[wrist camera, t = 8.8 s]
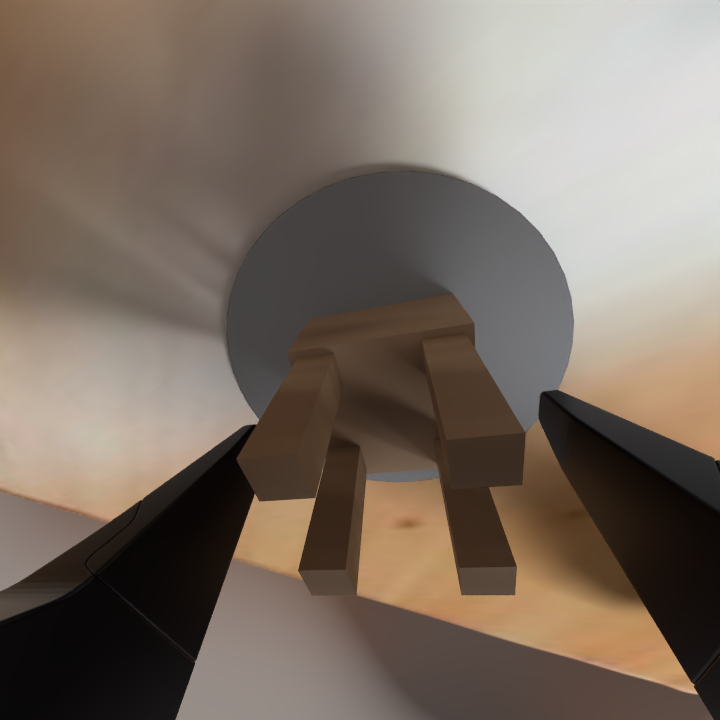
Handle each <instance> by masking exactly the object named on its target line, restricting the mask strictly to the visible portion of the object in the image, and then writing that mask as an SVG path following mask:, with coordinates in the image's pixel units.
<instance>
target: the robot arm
mask: <svg viewBox="0 0 720 720" xmlns="http://www.w3.org/2000/svg"><path fill="white" fill-rule="evenodd" d="M538 417H539V421H540V423H541V425H542V428H543V430H544V432H545V434H546V436H547V438H548V441H549V443H550V445H551V447H552V449H553V451H554V454H555V456H556V458H557V460H558V462H559V464H560V466H561V468H562V470H563V472H564V474H565V475H566V477H567V479H568V480H569V482H570V484H571V485H572V487H573V489H574V490H575V492H576V493H577V495H578V497H579V498H580V500H581V502H582V503H583V505H584V507H585V508H586V510H587V512H588V513H589V515H590V516H591V518H592V520H593V521H594V523H595V525H596V526H597V528H598V530H599V531H600V533H601V535H602V536H603V538H604V539H605V541H606V543H607V544H608V546H609V548H610V549H611V551H612V553H613V554H614V556H615V558H616V559H617V561H618V562H619V564H620V566H621V567H622V569H623V571H624V572H625V574H626V576H627V577H628V579H629V581H630V582H631V584H632V585H633V587H634V589H635V590H636V592H637V594H638V595H639V597H640V599H641V600H642V602H643V604H644V605H645V607H646V608H647V610H648V612H649V613H650V615H651V617H652V618H653V620H654V622H655V623H656V625H657V627H658V628H659V630H660V631H661V633H662V635H663V636H664V638H665V640H666V641H667V643H668V645H669V646H670V648H671V650H672V651H673V653H674V654H675V656H676V658H677V659H678V661H679V663H680V664H681V666H682V668H683V669H684V671H685V673H686V674H687V676H688V677H689V679H690V681H691V682H692V683H693V684H695V685H694V688H695V689H696V691H697V693H698V694H699V696H700V698H701V699H702V701H703V703H704V704H705V706H706V708H707V709H708V711H709V712H710V714H711V716H712V717H713V719H714V720H720V460H716V461H715V459H714V458H713V457H710V456H708V455H706V454H703V453H701V452H699V451H697V450H694V449H692V448H690V447H687V446H685V445H683V444H681V443H678V442H676V441H674V440H671V439H669V438H667V437H664V436H662V435H660V434H658V433H655V432H653V431H651V430H648V429H646V428H644V427H642V426H639V425H637V424H635V423H632V422H630V421H628V420H626V419H623V418H621V417H619V416H616V415H614V414H612V413H609V412H607V411H605V410H603V409H600V408H598V407H596V406H593V405H591V404H589V403H587V402H584V401H582V400H580V399H577V398H575V397H573V396H571V395H568V394H566V393H564V392H561V391H559V390H550V391H543V392H542V393H541V394H540V399H539V411H538ZM255 427H256V425H255V424H254V425H246V426H243V427H242V428H240V429H239V430H238V431H236V432H235V433H234V434H232V435H231V436H229V437H228V438H227V439H225V440H224V441H222V442H221V443H220V444H218V445H217V446H215V447H214V448H213V449H211V450H210V451H208V452H207V453H206V454H204V455H203V456H202V457H200V458H199V459H197V460H196V461H195V462H193V463H192V464H190V465H189V466H188V467H186V468H185V469H183V470H182V471H181V472H179V473H178V474H176V475H175V476H174V477H172V478H171V479H170V480H168V481H167V482H165V483H164V484H163V485H161V486H160V487H158V488H157V489H156V490H154V491H153V492H151V493H150V494H149V495H147V496H146V497H145V498H143V500H140V501H139V502H137V503H136V504H135V505H133V506H132V507H131V508H129V509H128V510H126V511H125V512H123V513H122V514H121V515H119V516H118V517H116V518H115V519H113V520H112V521H111V522H109V523H108V524H106V525H105V526H103V527H102V528H100V529H99V530H98V531H96V532H94V533H93V534H91V535H90V536H88V537H87V538H85V539H84V540H82V541H81V542H79V543H78V544H76V545H75V546H73V547H72V548H70V549H69V550H67V551H66V552H64V553H63V554H61V555H60V556H58V557H57V558H55V559H54V560H52V561H51V562H49V563H48V564H46V565H45V566H43V567H41V568H40V569H38V570H37V571H36V572H34V573H32V574H31V575H29V576H28V577H26V578H25V579H23V580H21V581H20V582H18V583H16V584H14V585H12V586H11V587H9V588H7V589H5V590H2V591H0V720H175V719H176V717H177V714H178V711H179V708H180V705H181V702H182V699H183V697H184V694H185V691H186V688H187V685H188V683H189V680H190V677H191V674H192V671H193V668H194V666H195V662H194V661H196V659H197V656H198V654H199V651H200V648H201V645H202V642H203V639H204V637H205V634H206V630H207V628H208V625H209V622H210V620H211V617H212V614H213V611H214V608H215V605H216V603H217V600H218V597H219V594H220V591H221V588H222V585H223V583H224V580H225V577H226V574H227V571H228V569H229V566H230V563H231V560H232V557H233V554H234V552H235V549H236V546H237V543H238V540H239V537H240V534H241V532H242V529H243V526H244V523H245V520H246V517H247V515H248V512H249V509H250V506H251V503H252V500H253V498H254V494H255V492H254V491H253V489H252V487H251V485H250V483H249V482H248V480H247V478H246V476H245V474H244V473H243V471H242V469H241V467H240V466H239V464H238V462H237V460H236V459H237V457H238V455H239V454H240V452H241V450H242V449H243V447H244V445H245V444H246V442H247V440H248V439H249V437H250V435H251V434H252V432H253V430H254V429H255Z"/></svg>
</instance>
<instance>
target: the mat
mask: <svg viewBox="0 0 720 720" xmlns="http://www.w3.org/2000/svg"><path fill="white" fill-rule="evenodd" d="M452 293H453V294H454V295H455V297H456V298H457V299H458V301H459V302H460V304H461V305H462V306H463V308H464V309H465V310H466V312H467V313H468V315H469V316H470V317H471V319H472V320H473V321H474V323H475V349H476V351H477V353H478V354H479V356H480V358H481V359H482V361H483V363H484V364H485V366H486V368H487V369H488V371H489V373H490V374H491V376H492V378H493V379H494V381H495V383H496V384H497V386H498V388H499V389H500V391H501V393H502V394H503V396H504V398H505V399H506V401H507V403H508V404H509V406H510V408H511V409H512V411H513V413H514V414H515V416H516V418H517V419H518V421H519V423H520V424H521V426H522V428H523V429H524V431H525V432H526V431H527V430H528V429H529V428H530V427H531V426H532V425H533V424H534V423H535V422H536V421H537V420H538V419H539V417H538V411H539V399H540V394H541V393H542V392H543V391H550V390H558V388H559V386H560V384H561V382H562V379H563V376H564V374H565V371H566V368H567V366H568V362H569V357H570V353H571V348H572V343H573V326H574V318H573V309H572V300H571V295H570V292H569V288H568V285H567V281H566V277H565V274H564V272H563V270H562V268H561V266H560V264H559V262H558V260H557V258H556V256H555V253H554V252H553V250H552V249H551V248H550V246H549V245H548V243H547V242H546V241H545V239H544V238H543V236H542V235H541V234H540V232H539V231H538V230H537V229H536V228H535V227H534V226H533V225H532V224H531V223H530V222H529V221H528V220H527V219H526V218H525V217H524V216H523V215H522V214H521V213H520V212H519V211H517V210H516V209H514V208H513V207H511V206H510V205H509V204H507V203H506V202H504V201H503V200H502V199H500V198H499V197H497V196H495V195H493V194H491V193H489V192H487V191H485V190H483V189H481V188H479V187H477V186H475V185H473V184H470V183H467V182H463V181H460V180H457V179H453V178H450V177H447V176H443V175H437V174H429V173H421V172H414V171H407V172H381V173H375V174H370V175H364V176H358V177H353V178H350V179H347V180H345V181H342V182H339V183H336V184H333V185H330V186H327V187H325V188H323V189H321V190H319V191H317V192H315V193H314V194H312V195H310V196H308V197H306V198H304V199H302V200H301V201H299V202H298V203H297V204H295V205H294V206H292V207H291V208H290V209H288V210H287V211H286V212H284V213H283V214H282V215H280V216H279V217H278V218H277V219H276V220H275V221H274V222H273V223H272V224H271V225H270V226H269V227H268V228H267V229H266V230H265V231H264V232H263V233H262V235H261V236H260V237H259V239H258V240H257V242H256V243H255V244H254V246H253V247H252V249H251V250H250V251H249V253H248V254H247V256H246V258H245V260H244V262H243V264H242V266H241V268H240V270H239V272H238V274H237V277H236V280H235V283H234V286H233V289H232V292H231V295H230V301H229V307H228V312H227V344H228V352H229V357H230V361H231V365H232V369H233V373H234V375H235V378H236V380H237V383H238V385H239V388H240V390H241V392H242V394H243V395H244V397H245V399H246V401H247V403H248V404H249V406H250V407H251V409H252V410H253V411H254V413H255V414H256V416H257V417H258V418H259V420H260V419H261V417H262V415H263V414H264V412H265V410H266V409H267V407H268V405H269V404H270V402H271V400H272V399H273V397H274V395H275V394H276V392H277V390H278V389H279V387H280V385H281V384H282V382H283V380H284V379H285V377H286V375H287V374H288V372H289V370H290V369H291V364H290V361H289V359H288V356H287V353H286V352H287V351H288V350H289V348H290V347H291V345H292V344H293V342H294V341H295V339H296V338H297V337H298V335H299V334H300V332H301V331H302V329H303V328H304V326H305V325H306V324H307V322H308V321H309V319H311V318H317V317H322V316H328V315H333V314H339V313H345V312H350V311H356V310H362V309H367V308H373V307H378V306H384V305H390V304H395V303H401V302H407V301H412V300H418V299H423V298H429V297H435V296H440V295H446V294H452ZM324 464H325V461H324ZM323 467H324V465H323ZM438 477H439V472H438V469H428V470H415V471H402V472H389V473H375V474H366V479H368V480H374V481H387V482H411V481H420V480H429V479H433V478H438Z"/></svg>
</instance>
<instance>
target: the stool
mask: <svg viewBox="0 0 720 720" xmlns="http://www.w3.org/2000/svg"><path fill="white" fill-rule="evenodd" d="M286 353H287V356H288V359H289V361H290V364H291V369H290V370H289V372H288V374H287V375H286V377H285V379H284V380H283V382H282V384H281V385H280V387H279V389H278V390H277V392H276V394H275V395H274V397H273V399H272V400H271V402H270V404H269V405H268V407H267V409H266V410H265V412H264V414H263V415H262V417H261V419H260V420H259V422H258V424H257V425H256V427H255V429H254V430H253V432H252V434H251V435H250V437H249V439H248V440H247V442H246V444H245V445H244V447H243V449H242V450H241V452H240V454H239V455H238V457H237V459H236V460H237V462H238V464H239V466H240V467H241V469H242V471H243V473H244V474H245V476H246V478H247V480H248V482H249V483H250V485H251V487H252V489H253V491H254V492H255V494H256V496H257V498H258V500H259V501H274V500H290V499H306V498H315V497H316V493H317V489H318V485H319V481H320V485H319V489H318V493H317V497H316V501H315V505H314V509H313V513H312V517H311V521H310V525H309V529H308V533H307V537H306V541H305V545H304V549H303V553H302V557H301V561H300V565H299V569H298V571H299V573H300V575H301V576H302V578H303V580H304V582H305V584H306V585H307V587H308V589H309V590H310V592H311V594H312V595H356V594H357V582H358V570H359V557H360V545H361V533H362V521H363V509H364V497H365V485H366V474H375V473H389V472H402V471H415V470H428V469H438V472H439V477H440V482H441V488H442V493H443V498H444V504H445V509H446V515H447V520H448V525H449V531H450V536H451V541H452V547H453V552H454V557H455V563H456V568H457V573H458V579H459V584H460V589H461V595H515V586H516V571H517V566H516V563H515V560H514V558H513V555H512V552H511V549H510V546H509V544H508V541H507V538H506V535H505V532H504V529H503V527H502V524H501V521H500V518H499V515H498V512H497V510H496V507H495V504H494V501H493V498H492V496H491V493H490V490H489V487H496V486H511V485H522V479H523V463H524V448H525V431H524V429H523V428H522V426H521V424H520V423H519V421H518V419H517V418H516V416H515V414H514V413H513V411H512V409H511V408H510V406H509V404H508V403H507V401H506V399H505V398H504V396H503V394H502V393H501V391H500V389H499V388H498V386H497V384H496V383H495V381H494V379H493V378H492V376H491V374H490V373H489V371H488V369H487V368H486V366H485V364H484V363H483V361H482V359H481V358H480V356H479V354H478V353H477V351H476V349H475V323H474V321H473V320H472V319H471V317H470V316H469V315H468V313H467V312H466V310H465V309H464V308H463V306H462V305H461V304H460V302H459V301H458V299H457V298H456V297H455V295H454V294H453V293H452V294H446V295H440V296H435V297H429V298H423V299H418V300H412V301H407V302H401V303H395V304H390V305H384V306H378V307H373V308H367V309H362V310H356V311H350V312H345V313H339V314H333V315H328V316H322V317H317V318H311V319H309V321H308V322H307V324H306V325H305V326H304V328H303V329H302V331H301V332H300V334H299V335H298V337H297V338H296V339H295V341H294V342H293V344H292V345H291V347H290V348H289V350H288V351H287V352H286ZM324 461H325V464H324ZM323 465H324V468H323ZM322 469H323V472H322ZM321 473H322V476H321ZM320 477H321V480H320Z"/></svg>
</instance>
